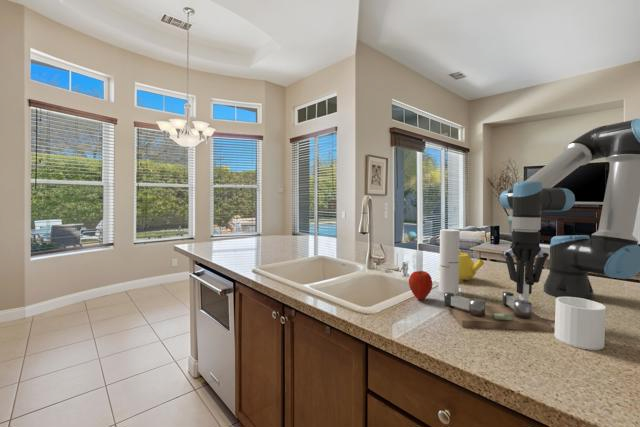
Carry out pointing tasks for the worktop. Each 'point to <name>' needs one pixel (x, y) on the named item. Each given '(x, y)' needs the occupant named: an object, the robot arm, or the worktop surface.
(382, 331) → the worktop surface
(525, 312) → the knob
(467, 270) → the teapot
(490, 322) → the levelling board
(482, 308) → the knob
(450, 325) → the worktop surface
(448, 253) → the cylindrical container
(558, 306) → the mug
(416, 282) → the apple
